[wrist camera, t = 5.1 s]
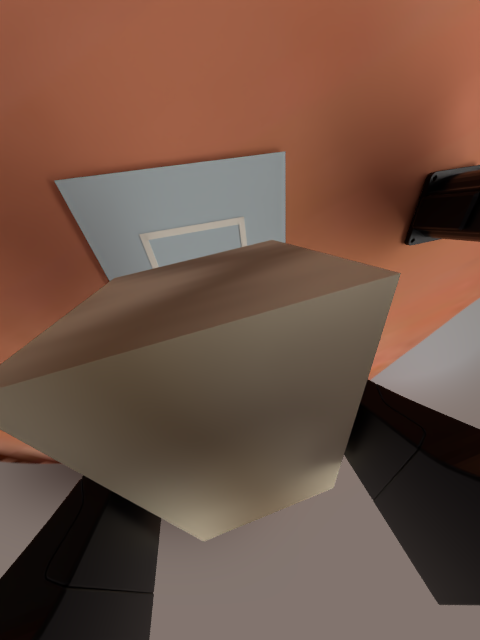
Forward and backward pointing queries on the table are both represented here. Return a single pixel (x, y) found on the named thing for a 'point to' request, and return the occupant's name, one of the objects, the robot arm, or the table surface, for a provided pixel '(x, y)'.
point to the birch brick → (206, 382)
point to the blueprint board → (178, 211)
